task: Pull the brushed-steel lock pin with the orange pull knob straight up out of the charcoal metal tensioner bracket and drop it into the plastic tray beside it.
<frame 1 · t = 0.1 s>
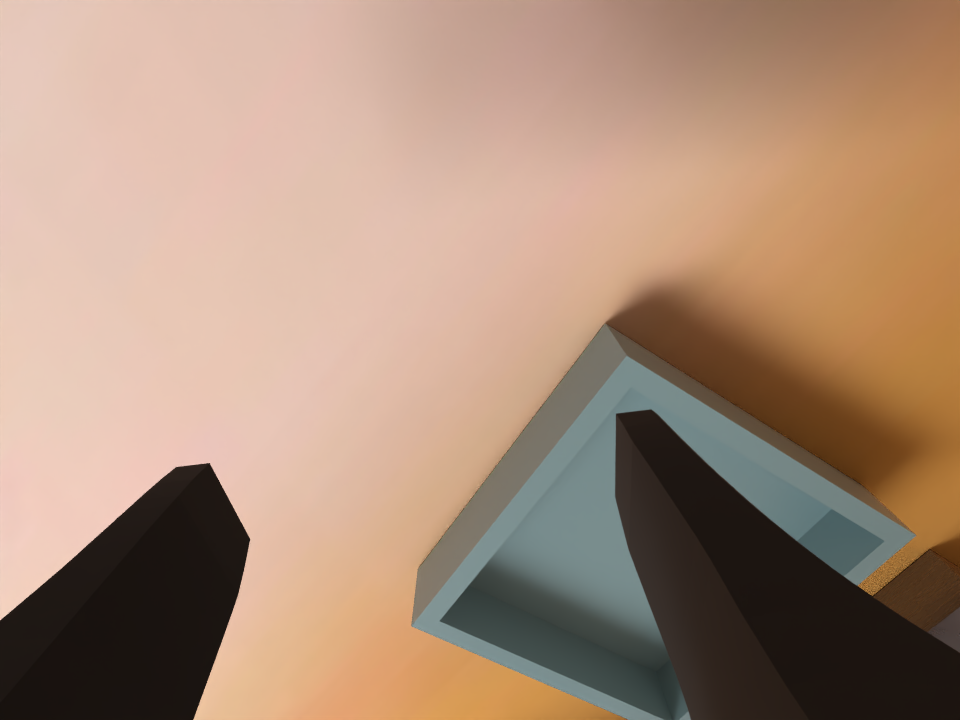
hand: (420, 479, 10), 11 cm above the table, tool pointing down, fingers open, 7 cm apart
tray: (634, 528, 24), on the table
tensioner bracket: (867, 711, 29), on the table
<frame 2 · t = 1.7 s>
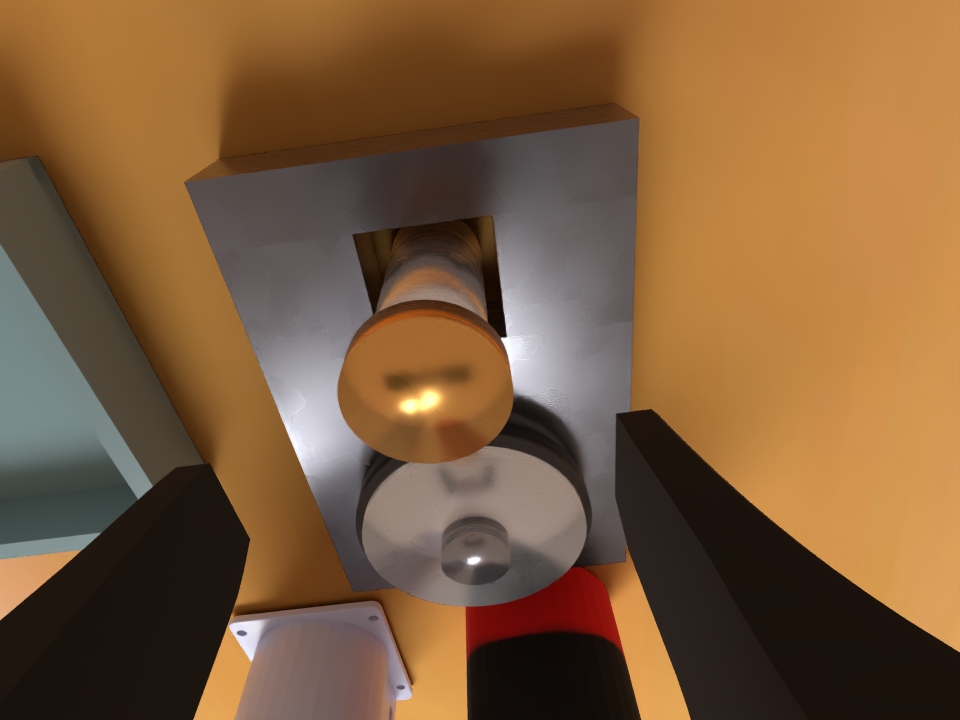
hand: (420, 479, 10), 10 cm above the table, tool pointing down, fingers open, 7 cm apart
soda can: (535, 597, 30), on the table
lock pin: (436, 256, 19), resting in tensioner bracket
tensioner bracket: (458, 377, 21), on the table
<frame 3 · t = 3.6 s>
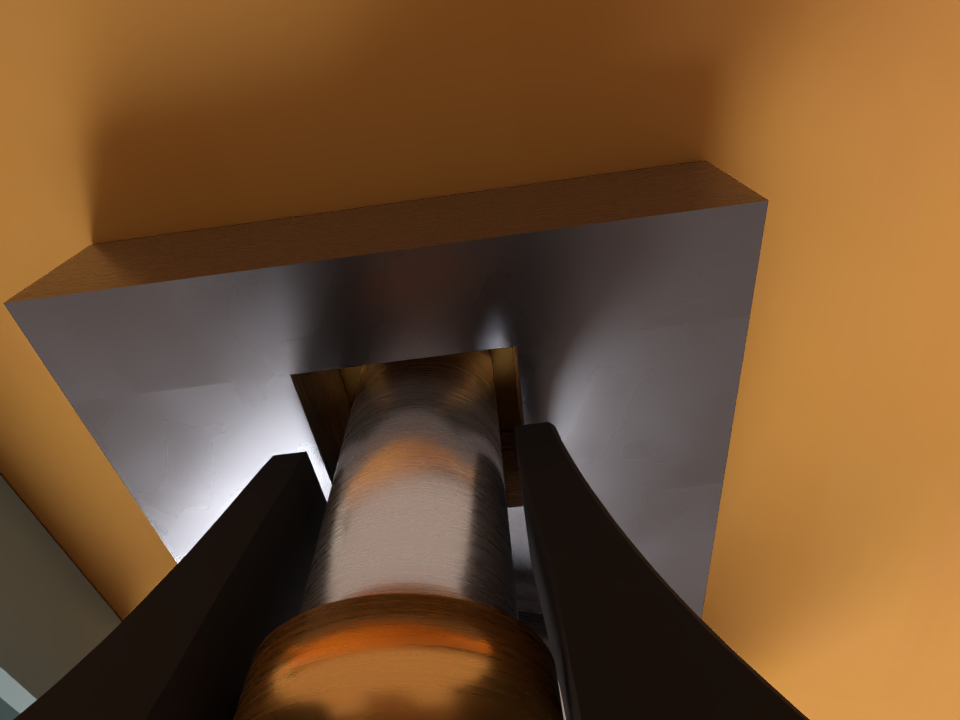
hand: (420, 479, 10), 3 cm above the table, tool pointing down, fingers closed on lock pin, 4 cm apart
lock pin: (428, 372, 13), resting in tensioner bracket, touching gripper
tensioner bracket: (459, 518, 16), on the table
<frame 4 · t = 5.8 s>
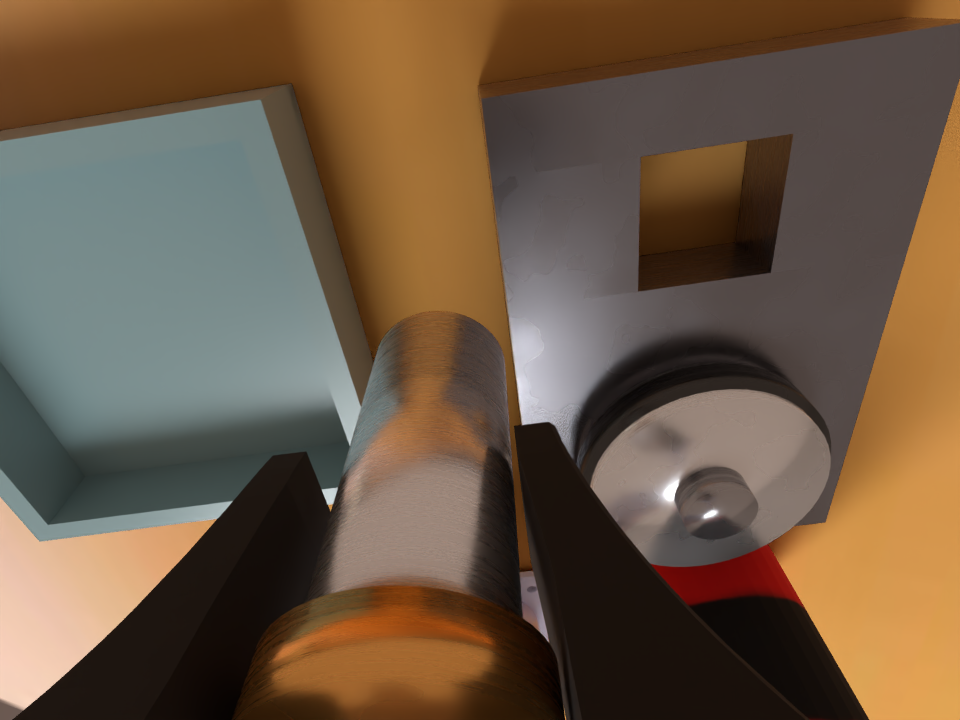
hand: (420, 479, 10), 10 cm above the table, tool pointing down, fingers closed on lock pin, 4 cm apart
soda can: (694, 567, 29), on the table
tray: (166, 324, 20), on the table
lock pin: (440, 368, 13), point 7 cm above the table, touching gripper
tensioner bracket: (671, 326, 21), on the table
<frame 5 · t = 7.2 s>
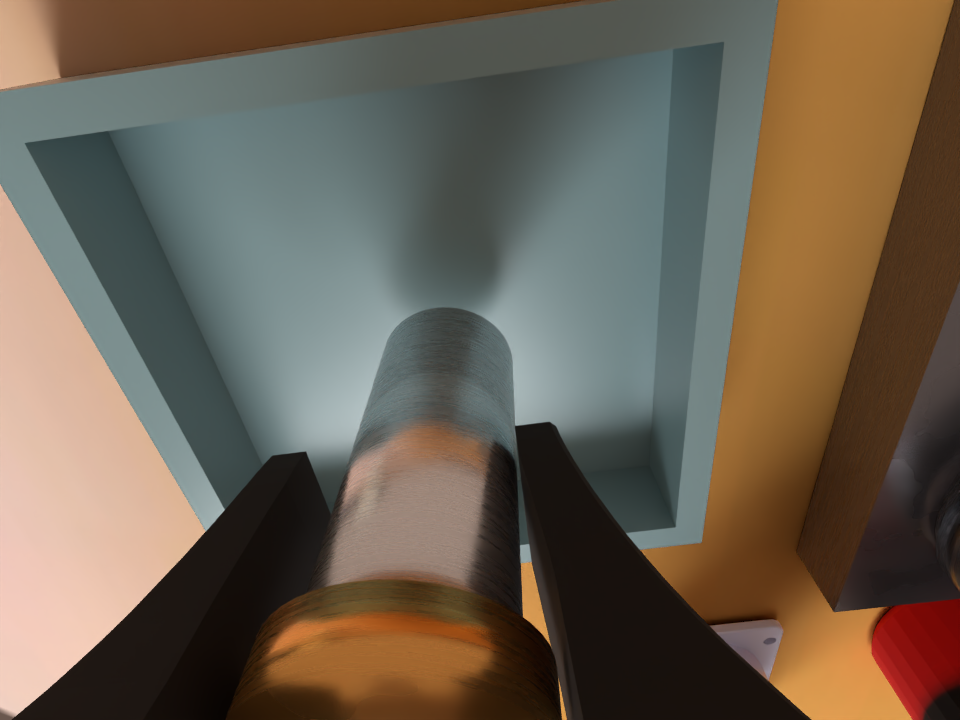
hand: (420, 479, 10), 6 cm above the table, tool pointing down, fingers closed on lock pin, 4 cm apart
soda can: (952, 614, 24), on the table
tray: (432, 318, 15), on the table
lock pin: (448, 364, 13), point 3 cm above the table, touching gripper
when the fingers open (5 cm above the table, at t = 8.1 s): lock pin drops 1 cm, resting on tray.
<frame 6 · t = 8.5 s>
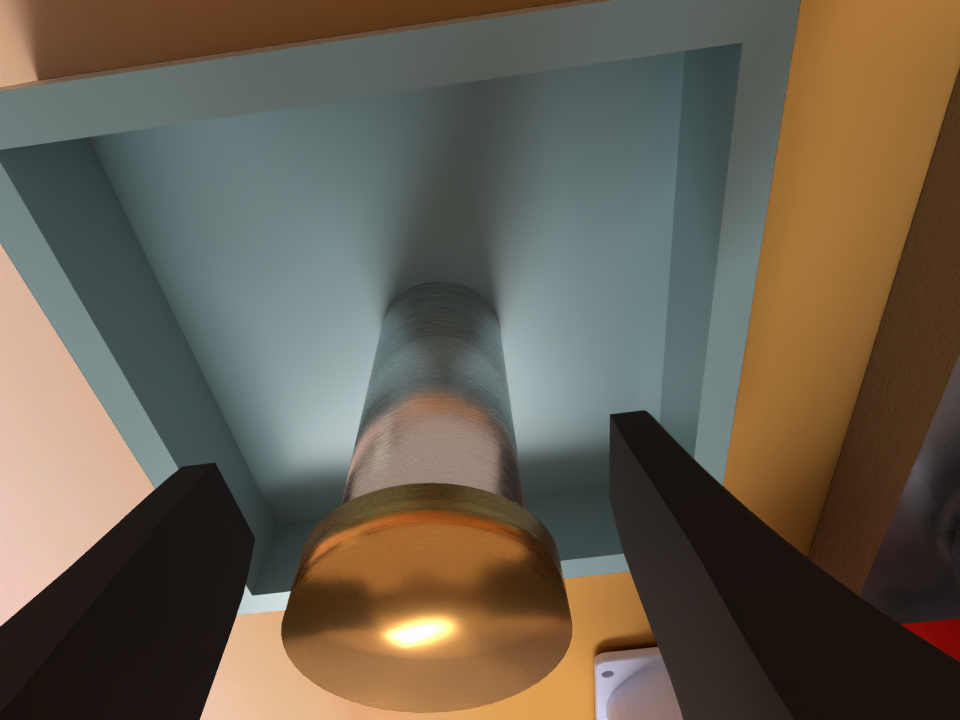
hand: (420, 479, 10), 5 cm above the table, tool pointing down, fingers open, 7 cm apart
tray: (431, 330, 15), on the table
lock pin: (441, 335, 14), resting on tray
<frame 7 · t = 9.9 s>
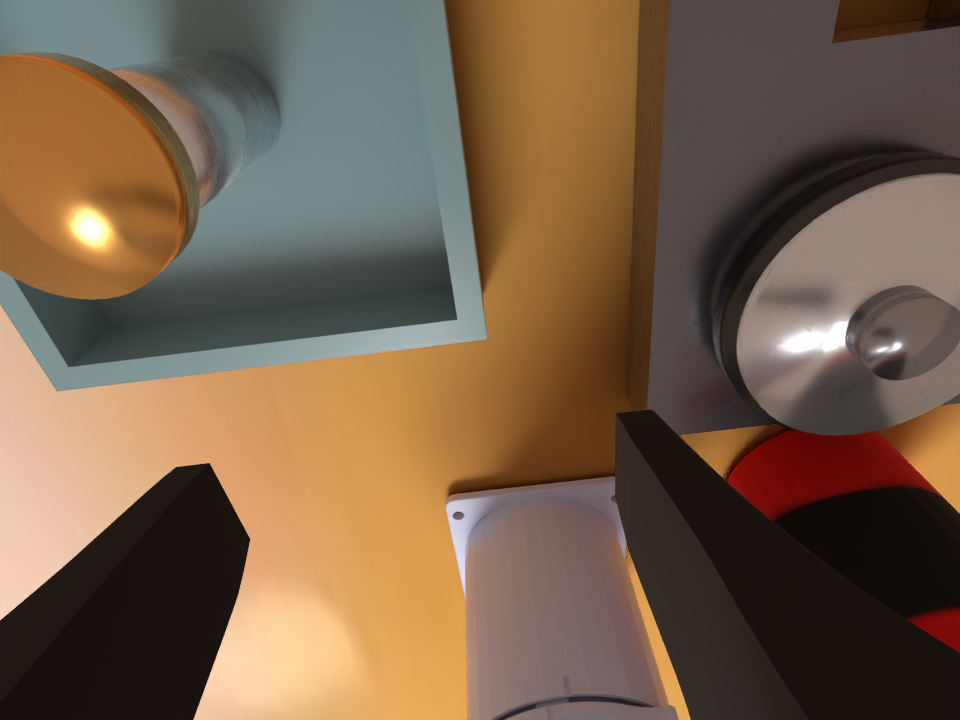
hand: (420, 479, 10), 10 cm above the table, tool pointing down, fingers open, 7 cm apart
soda can: (798, 479, 25), on the table
tray: (223, 114, 16), on the table
lock pin: (225, 112, 16), point 1 cm above the table, touching tray
tensioner bracket: (829, 141, 17), on the table
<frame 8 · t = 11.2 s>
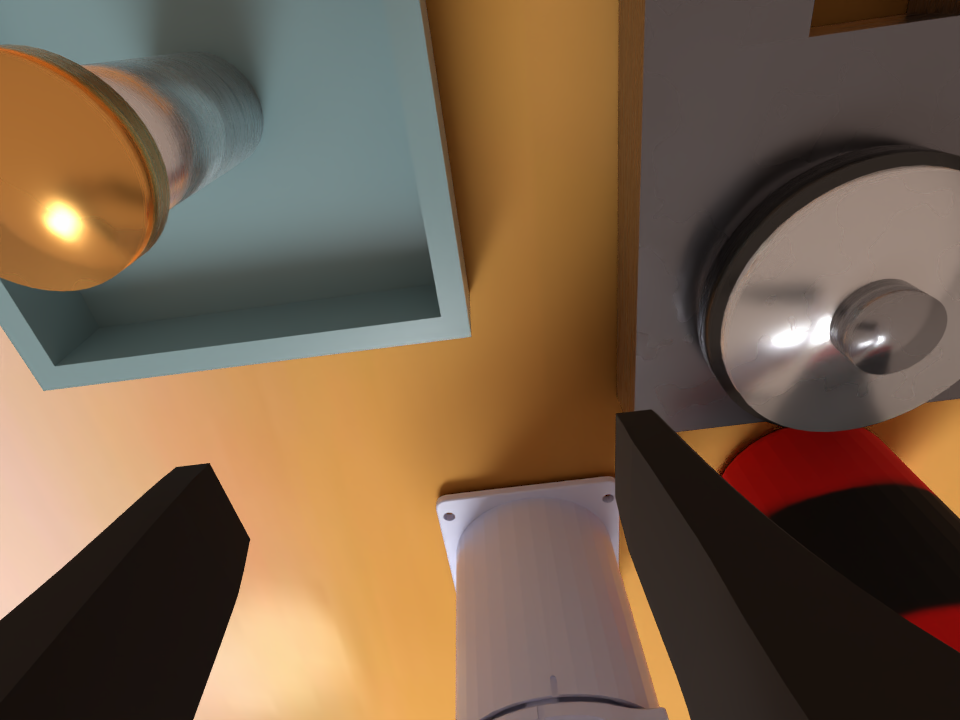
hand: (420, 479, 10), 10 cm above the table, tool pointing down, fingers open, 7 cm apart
soda can: (792, 479, 25), on the table
tray: (207, 114, 16), on the table
lock pin: (209, 111, 16), resting on tray
tensioner bracket: (812, 137, 17), on the table
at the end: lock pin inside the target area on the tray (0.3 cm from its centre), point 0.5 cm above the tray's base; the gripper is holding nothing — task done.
